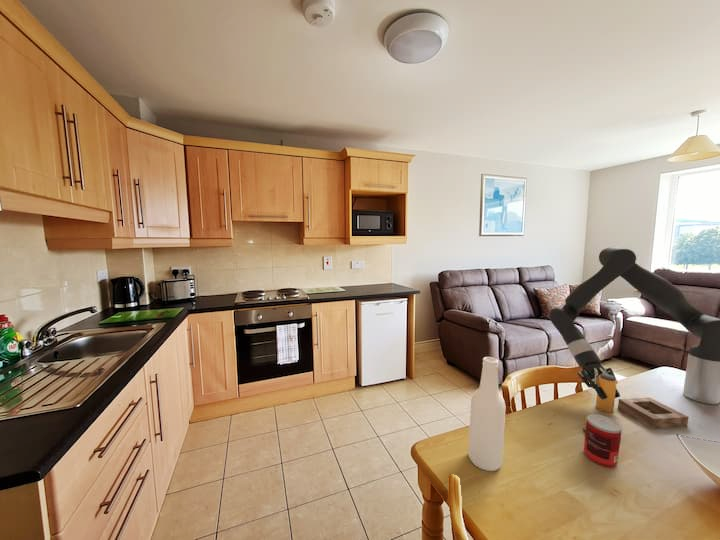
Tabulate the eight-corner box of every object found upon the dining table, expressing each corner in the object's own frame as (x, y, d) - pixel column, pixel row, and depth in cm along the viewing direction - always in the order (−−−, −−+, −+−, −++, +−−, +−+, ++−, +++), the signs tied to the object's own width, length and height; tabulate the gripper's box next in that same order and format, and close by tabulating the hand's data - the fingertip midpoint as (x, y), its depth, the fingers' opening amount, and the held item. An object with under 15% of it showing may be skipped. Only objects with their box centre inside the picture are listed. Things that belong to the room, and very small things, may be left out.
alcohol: (489, 477, 77) (495, 369, 73) (461, 456, 84) (466, 357, 81) (508, 464, 81) (515, 361, 78) (480, 445, 89) (486, 350, 85)
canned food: (609, 451, 86) (613, 416, 85) (623, 471, 79) (628, 433, 78) (578, 445, 89) (582, 411, 88) (589, 464, 81) (593, 427, 80)
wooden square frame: (648, 406, 110) (649, 397, 110) (687, 426, 98) (688, 416, 98) (617, 407, 109) (618, 399, 108) (652, 428, 97) (654, 419, 96)
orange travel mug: (604, 404, 111) (607, 372, 109) (617, 412, 106) (620, 379, 104) (592, 405, 110) (595, 373, 109) (604, 413, 105) (608, 379, 104)
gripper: (574, 350, 112) (603, 396, 101) (605, 348, 115) (636, 393, 104) (561, 358, 118) (587, 402, 107) (591, 355, 120) (618, 399, 110)
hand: (611, 397), depth 106 cm, fingers closed on orange travel mug, 5 cm apart
